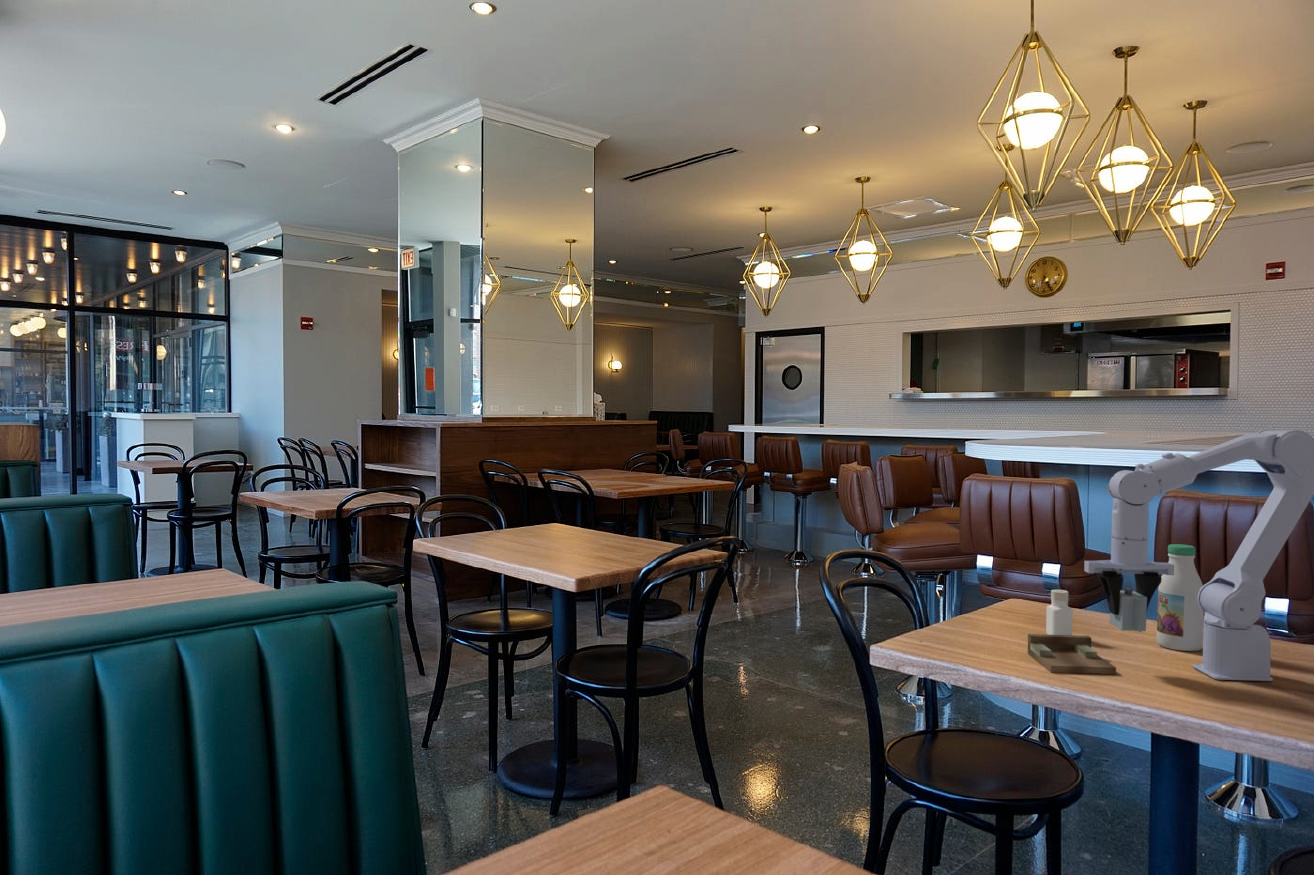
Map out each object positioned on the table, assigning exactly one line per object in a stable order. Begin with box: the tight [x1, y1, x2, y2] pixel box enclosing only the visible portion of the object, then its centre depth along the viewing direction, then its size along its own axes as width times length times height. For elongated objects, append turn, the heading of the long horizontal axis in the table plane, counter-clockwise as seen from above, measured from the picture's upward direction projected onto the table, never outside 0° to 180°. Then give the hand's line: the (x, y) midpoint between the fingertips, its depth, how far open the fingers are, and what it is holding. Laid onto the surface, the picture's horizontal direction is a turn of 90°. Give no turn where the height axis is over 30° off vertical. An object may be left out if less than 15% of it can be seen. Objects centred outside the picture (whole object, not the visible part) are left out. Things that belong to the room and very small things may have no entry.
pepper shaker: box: [1045, 589, 1074, 635], centre depth 175 cm, size 4×4×10 cm
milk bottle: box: [1156, 543, 1205, 652], centre depth 168 cm, size 8×8×20 cm
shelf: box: [1027, 633, 1117, 675], centre depth 157 cm, size 11×12×4 cm
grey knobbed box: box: [1109, 588, 1148, 633], centre depth 152 cm, size 4×7×7 cm, turn 175°
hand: (1127, 614), depth 153 cm, fingers closed on grey knobbed box, 4 cm apart
